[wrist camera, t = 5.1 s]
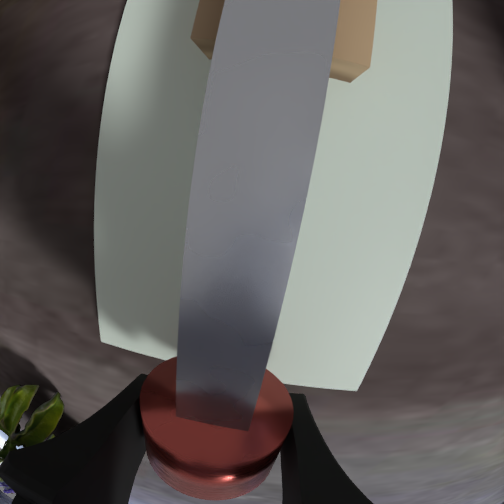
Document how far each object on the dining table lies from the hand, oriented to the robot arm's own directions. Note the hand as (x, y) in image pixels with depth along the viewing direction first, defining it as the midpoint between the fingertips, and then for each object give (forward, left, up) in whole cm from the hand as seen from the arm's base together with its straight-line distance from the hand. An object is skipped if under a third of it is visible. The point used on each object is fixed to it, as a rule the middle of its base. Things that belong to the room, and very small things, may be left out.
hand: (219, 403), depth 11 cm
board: (0, -13, -3) cm, 13 cm away
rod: (0, -9, -1) cm, 9 cm away
